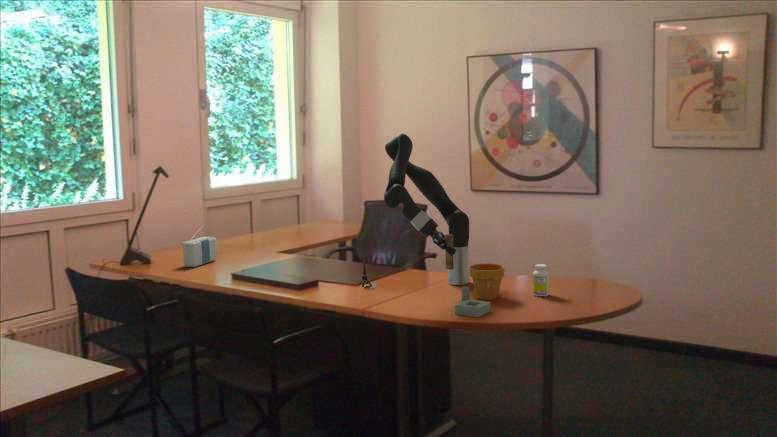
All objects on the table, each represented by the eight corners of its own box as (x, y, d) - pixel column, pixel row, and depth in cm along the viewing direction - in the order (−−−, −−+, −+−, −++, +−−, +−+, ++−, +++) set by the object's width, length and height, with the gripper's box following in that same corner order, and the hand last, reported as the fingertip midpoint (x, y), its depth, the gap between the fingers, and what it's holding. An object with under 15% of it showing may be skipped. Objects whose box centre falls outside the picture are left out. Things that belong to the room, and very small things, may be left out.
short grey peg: (464, 303, 302) (463, 286, 301) (471, 304, 300) (470, 287, 299) (460, 305, 300) (460, 288, 299) (467, 306, 298) (467, 289, 297)
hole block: (467, 307, 295) (467, 299, 295) (490, 311, 289) (490, 302, 289) (455, 313, 287) (455, 305, 286) (478, 317, 281) (478, 308, 281)
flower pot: (503, 301, 303) (503, 270, 301) (468, 301, 306) (468, 270, 304) (504, 293, 317) (504, 263, 315) (471, 293, 319) (470, 263, 317)
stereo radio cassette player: (194, 268, 386) (192, 230, 384) (181, 267, 390) (179, 229, 387) (218, 260, 406) (216, 224, 403) (205, 259, 409) (203, 223, 406)
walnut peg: (448, 267, 308) (447, 234, 306) (455, 268, 306) (454, 234, 304) (444, 269, 305) (443, 235, 303) (451, 269, 303) (450, 235, 302)
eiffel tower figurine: (371, 291, 329) (370, 261, 327) (349, 290, 332) (348, 261, 330) (381, 283, 343) (380, 255, 341) (360, 283, 346) (359, 254, 344)
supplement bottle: (538, 292, 317) (539, 262, 315) (552, 295, 312) (552, 264, 311) (529, 295, 313) (529, 265, 311) (543, 298, 308) (543, 267, 306)
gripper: (420, 227, 313) (450, 256, 312) (414, 233, 299) (445, 263, 298) (433, 215, 311) (462, 244, 310) (427, 220, 297) (458, 250, 297)
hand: (454, 253), depth 304 cm, fingers closed on walnut peg, 3 cm apart
